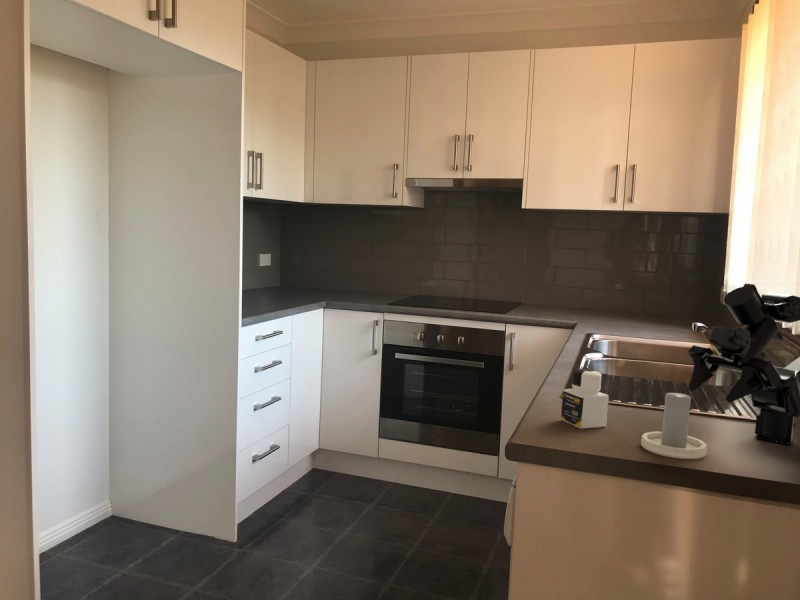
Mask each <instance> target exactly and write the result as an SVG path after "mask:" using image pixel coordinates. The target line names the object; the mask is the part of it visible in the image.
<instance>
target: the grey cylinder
mask: <svg viewBox="0 0 800 600" xmlns="http://www.w3.org/2000/svg"><path fill="white" fill-rule="evenodd" d="M691 399H692V397H691V396H690V395H688V394H684V393H678V392H666V393H665V400H664V409H663V420H662V421H663V422H662V428H661V429H662V431H661V432H662V440H661V444H662V445H666V446H671V447H676V448H686V444H687V436H688V432H689V423H690V422H689V421H690V412H691V411H690V410H691V401H692V400H691Z"/></svg>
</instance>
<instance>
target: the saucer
mask: <svg viewBox="0 0 800 600" xmlns="http://www.w3.org/2000/svg"><path fill="white" fill-rule="evenodd" d="M640 440H641V442H640V445H641V447H642V448H643V449H644V450H646V451H647V452H650V453H652V454H655V455H656V454H657V455H659V456H663V457H669V458H673V459H679V460H680V459H684V460H698V459H703V458H705V457H706V456H707V453H708V452H707V446H708V445H707V443H705V442H704V441H703V440H701V439H699V438H696V437H693V436H690V435H687V444H686V448H676V447H671V446H666V445H662V444H661V440H662V431H649V432H645V433H643V435H641V439H640Z"/></svg>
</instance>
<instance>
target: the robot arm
mask: <svg viewBox="0 0 800 600" xmlns="http://www.w3.org/2000/svg"><path fill="white" fill-rule="evenodd" d="M723 299H724V303H725V306H726V307H727V308H728V310H729V312H730V313H731V314H732V316H733V318H734V320H735V321H736V323H738V324H739V325H744V326H743V327H741V328H739V327H738V328H737V329H731V328H728V327H723V326H718V325H717V326H716V325H713V326H712V328H711V330H710V332H709V336H708V338H707V341H708V342H709V343H713V344H714V345H716V346H717V347H716V350H717V351H718V353H720V355H721V356H720V355H716V354H715V353H714V351H713V350H712V348H711V347H708V346H704V345H703V346H702V345H698V344H697V345H696V344H694V345H692V346H691V347H690V349H688V351H687V355H688V356H689V358H690V359H691V361H692V363H693V364H694V365H693V371H692V374H691V377H690V382H689V385H688V388H687V389H688V390H689V392H690V393H693V392H694V391H696V390H697V389H699V388H700V387H701V386H703V385H704V384H705V383H706V382H707V381H708V380H710V379H711V378H713V376H714V374H713V373H716V372H717V371H718V370H719V367H721V368H725V369H728V370H732V371H734V372H739V373H741V375H740V377H739V379H738V380H737V381H736V383H735V384H734V385H733V387H732V388H731V389H730V391H729V392H728V394H727V396H726V397H725V401H726V403H729V404H730V403H732V402H734V401H735V402H736V401H737V400H740V399H742V398H744V397H746V396H749V395H750V397H751V404H752V407H753V408H759V410H760V411H759V413H757V415H756V418H755V427H754V434H755V435H756V436H755V439H757V438H758V439H757V440H761V439H764V440H763V441H767V440H770V441H769V442H772V441H777V442H783V443H788V444H791V445H792V443H793V439H794V437H793V430H794V419H795V418H800V356H799V357H798V358H796V359H795V360H793V361H792V362H790V363H789V364H788V365H787V366H785V367H779V366H775V365H774V364H773V361H772V360H770V359H765V357H766V354H765V352H764V350H765V349H766V348H767V347H768V345H770V343H771V342H772V340H777V341H783V340H784V335H783V332H782V327H781V326H779V325H778V324H777V323H776V322H781V323H788V324H791V323H795V322H799V321H800V296H797V295H792V294H781V293H773V292H765V293H762V294H761V295H760V292H759V291H758V288H757V287H756V285H755V284H754V283H745V284H743V286H740V287H737V288H734V289H732V290H731V291H728V293H726V294H725V296H724V298H723ZM792 438H793V439H792ZM777 442H776V443H777ZM791 442H792V443H791ZM783 443H782V444H783ZM788 444H787V445H788Z"/></svg>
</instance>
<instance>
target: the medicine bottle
mask: <svg viewBox="0 0 800 600" xmlns="http://www.w3.org/2000/svg"><path fill="white" fill-rule="evenodd" d="M602 376H603V375H602V374H601V372H599V371H598V370H594V369H588V368H578V369H575V370H574V371H573V372H572V383H571V384H572V385H571V388H565V389H563V390H562V400H561V401H562V403H561V412H560V414H561V415H560V421H562V420H563V421H562V422H564V421H565V422H564V423H566V422H567V424H569V423H570V424H569V425H571V424H572V425H571V426H573V425H574V427H575V428H578V429H594V428H603V427H604V428H605V427H607V420H608V409H609V394H606V393H603V392H600V391H601V384H602Z"/></svg>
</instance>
